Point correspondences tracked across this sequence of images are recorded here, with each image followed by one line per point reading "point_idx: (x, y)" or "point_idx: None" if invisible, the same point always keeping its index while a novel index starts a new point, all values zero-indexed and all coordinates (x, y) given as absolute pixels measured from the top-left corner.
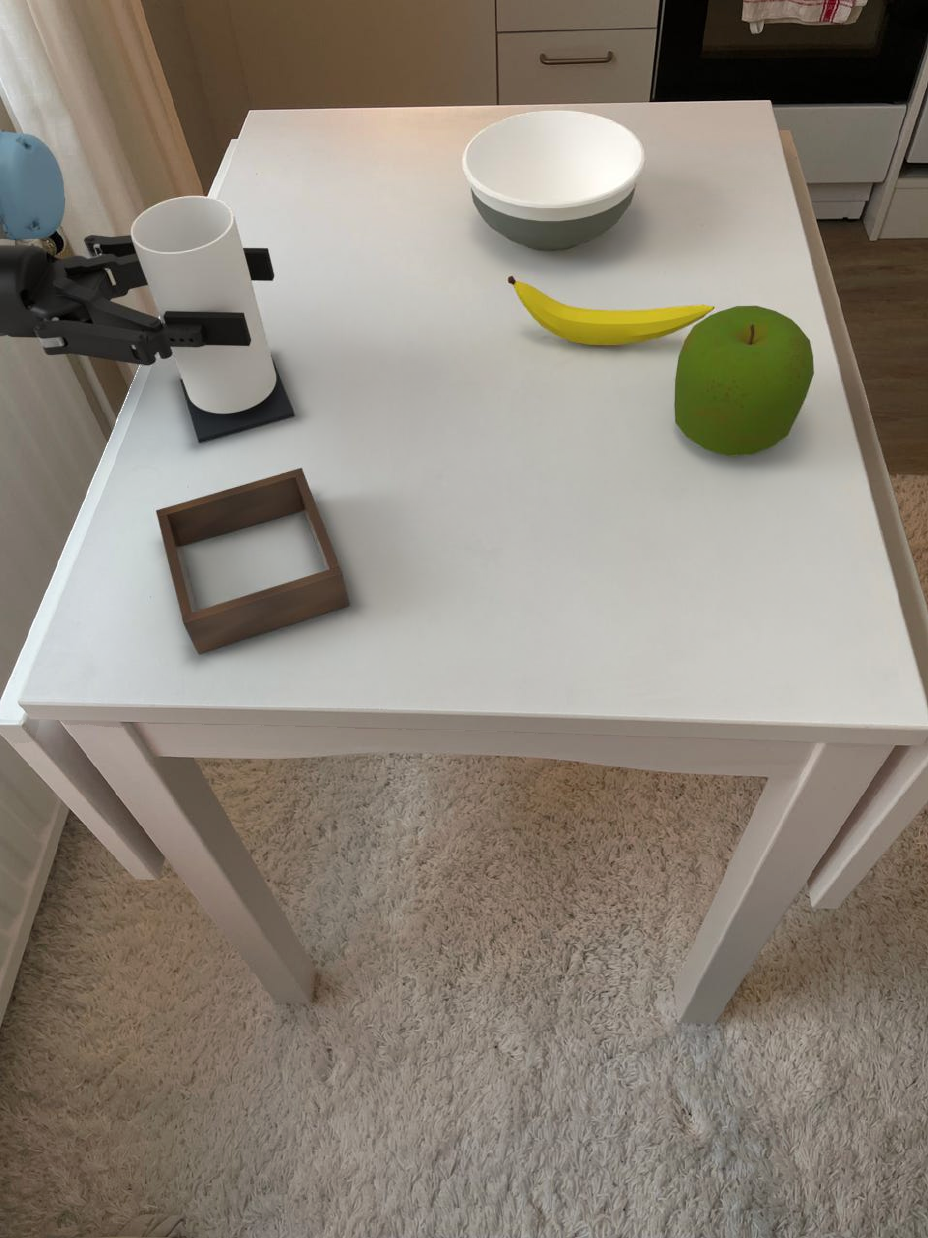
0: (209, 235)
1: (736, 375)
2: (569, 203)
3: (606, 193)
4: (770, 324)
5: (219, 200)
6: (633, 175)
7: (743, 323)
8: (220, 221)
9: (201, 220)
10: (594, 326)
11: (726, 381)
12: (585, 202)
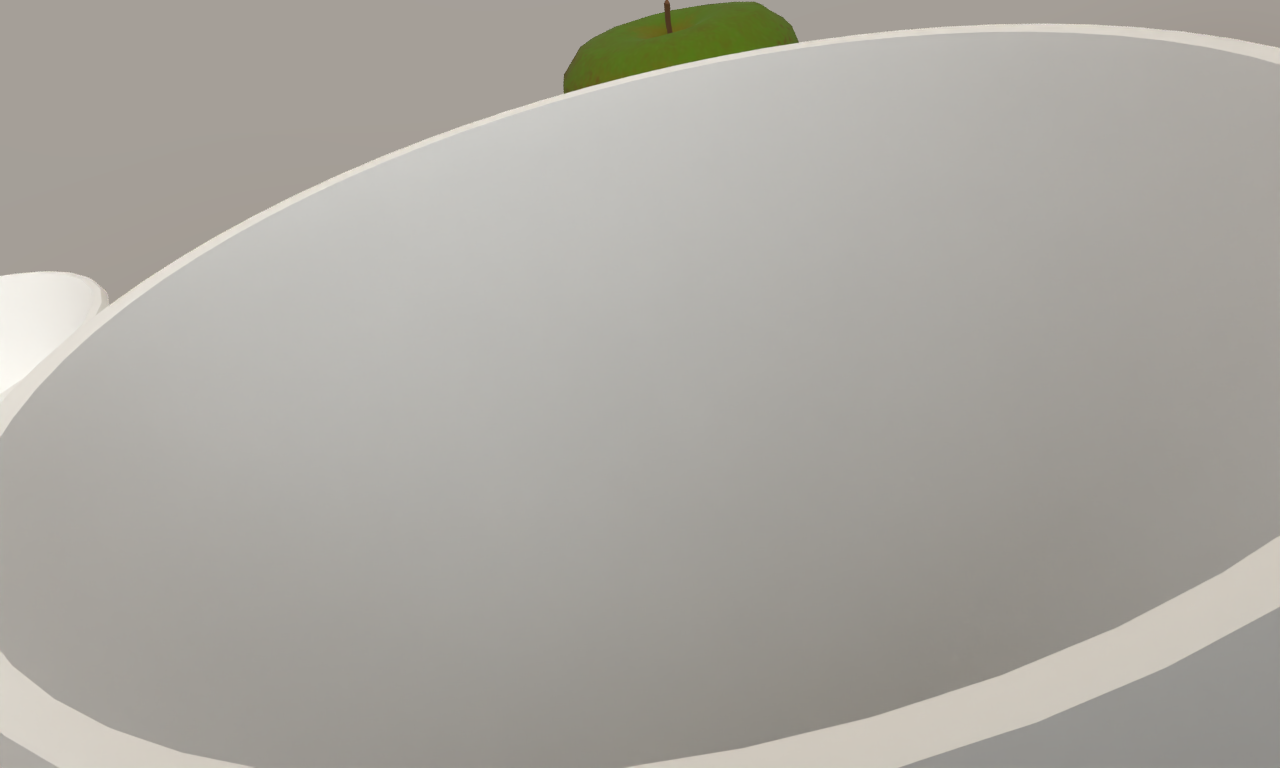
0: (272, 742)
1: (772, 19)
2: (98, 311)
3: (88, 280)
4: (636, 25)
5: (210, 244)
6: (34, 273)
7: (635, 38)
8: (289, 466)
9: (180, 645)
10: None
11: (781, 32)
12: (104, 298)
